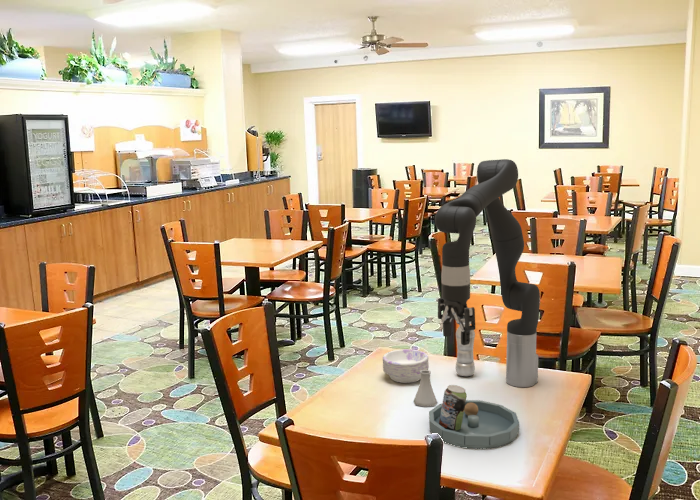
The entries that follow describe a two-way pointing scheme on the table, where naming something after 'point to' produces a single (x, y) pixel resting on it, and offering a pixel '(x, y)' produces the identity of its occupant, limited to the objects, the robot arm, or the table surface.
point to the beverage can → (453, 408)
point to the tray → (479, 426)
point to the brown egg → (471, 409)
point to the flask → (425, 391)
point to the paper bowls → (405, 365)
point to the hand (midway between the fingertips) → (456, 340)
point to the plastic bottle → (465, 354)
